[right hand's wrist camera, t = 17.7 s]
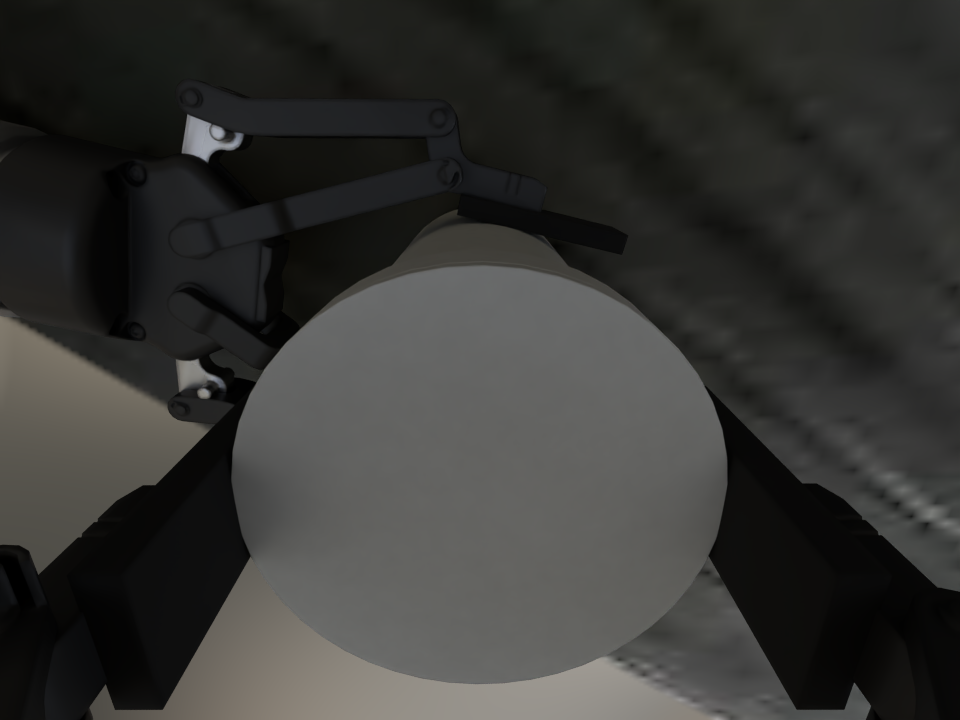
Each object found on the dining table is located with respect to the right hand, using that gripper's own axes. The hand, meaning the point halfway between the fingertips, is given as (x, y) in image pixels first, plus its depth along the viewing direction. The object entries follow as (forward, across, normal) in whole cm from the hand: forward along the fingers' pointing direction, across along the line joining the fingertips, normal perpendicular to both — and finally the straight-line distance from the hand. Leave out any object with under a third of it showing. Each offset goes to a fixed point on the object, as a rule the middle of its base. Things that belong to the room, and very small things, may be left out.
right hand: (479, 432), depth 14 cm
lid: (-3, 0, 0) cm, 3 cm away
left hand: (+9, -4, +1) cm, 10 cm away
